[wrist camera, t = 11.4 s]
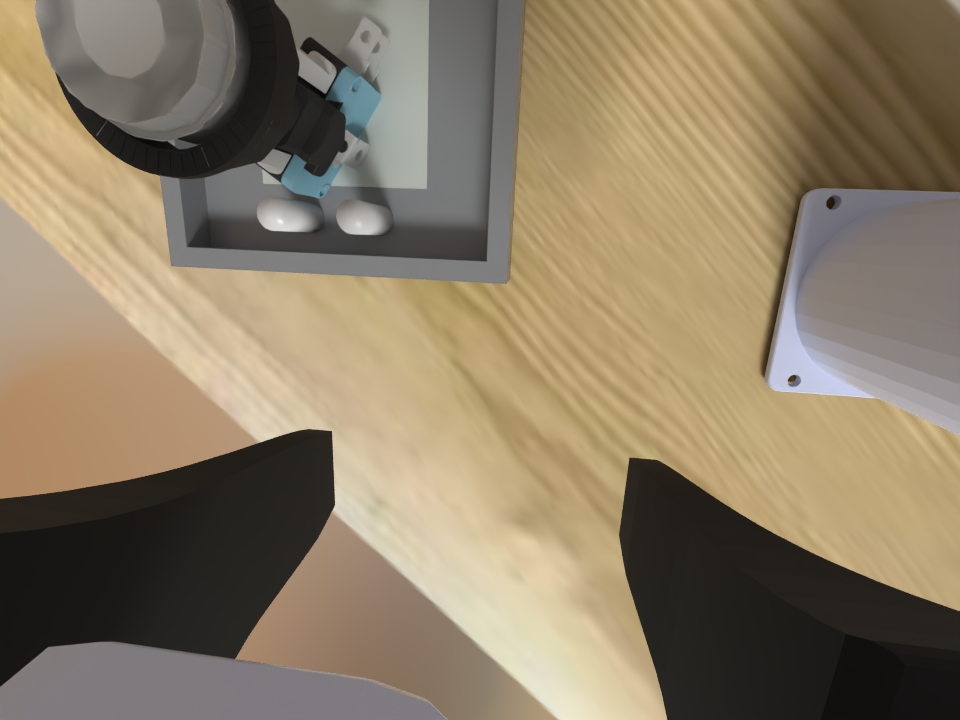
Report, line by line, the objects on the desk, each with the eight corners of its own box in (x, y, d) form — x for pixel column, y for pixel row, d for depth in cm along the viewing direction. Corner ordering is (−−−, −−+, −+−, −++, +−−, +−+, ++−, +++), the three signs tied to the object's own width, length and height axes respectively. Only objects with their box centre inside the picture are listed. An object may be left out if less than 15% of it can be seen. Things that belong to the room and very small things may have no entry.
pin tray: (536, -188, 16) (536, -315, 12) (509, 278, 20) (503, 287, 16) (163, -169, 17) (65, -277, 14) (208, 263, 22) (141, 267, 18)
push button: (331, -4, 17) (78, -306, 8) (445, 87, 18) (335, -96, 8) (249, 152, 19) (-40, 63, 10) (353, 232, 19) (175, 223, 10)
